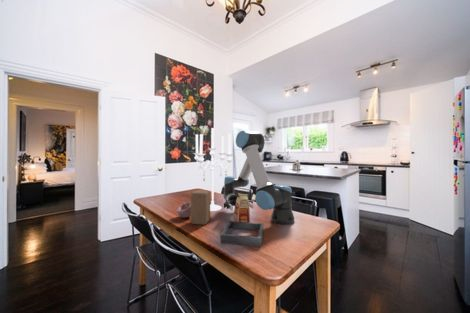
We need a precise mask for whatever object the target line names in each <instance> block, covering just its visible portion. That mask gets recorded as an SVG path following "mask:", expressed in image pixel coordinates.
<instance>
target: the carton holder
mask: <svg viewBox="0 0 470 313" xmlns="http://www.w3.org/2000/svg"><path fill="white" fill-rule="evenodd" d="M264 226H265V224H264V223H261V222H251V221H250V222H237V221H233V220H230V221H229V222H228V223H227V224H226V226H225V227H224V229H223V231H222V232H221V234H220V243H221V244H228V245H229V244H230V245H239V246H249V247H259V248H261V247H262V242H263V235H264V231H265V229H264V228H265V227H264ZM232 230H242V231H252V232H253V231H256V232H258V234H257V236H250V235H239V234H230V233H231V231H232Z"/></svg>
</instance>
